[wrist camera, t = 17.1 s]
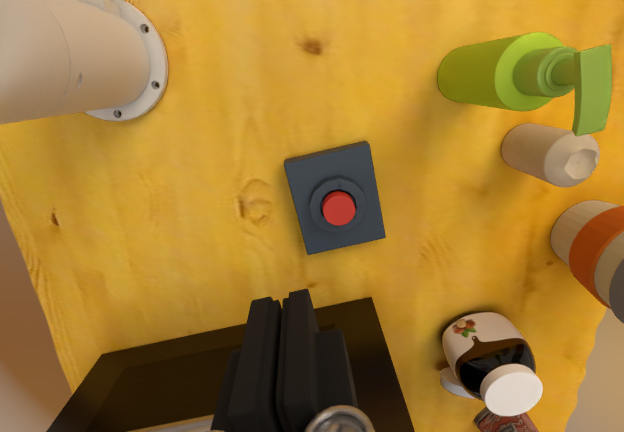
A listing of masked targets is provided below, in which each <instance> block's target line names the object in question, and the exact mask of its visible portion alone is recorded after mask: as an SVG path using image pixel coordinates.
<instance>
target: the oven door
mask: <svg viewBox="0 0 624 432" xmlns="http://www.w3.org/2000/svg"><path fill="white" fill-rule="evenodd" d="M314 313H315V316H316V320H317V324H318V327H319V331H320V332H324V331H328V330H333V329H338V328H341V329H342V332H343V336H344V340H345V344H346V348H347V353H348V357H349V362H350V366H351V371H352V376H353V382H354V388H355V393H356V399H357V405H358V409H360V410H361V411H362V412H363V413H364V414H366V415H367V417H368V418H369V420H370V422H371V423H372V425H373V428H374V430H375V432H415V431H414V428H413V425H412V422H411V419H410V416H409V413H408V409H407V406H406V403H405V400H404V397H403V394H402V391H401V388H400V384H399V381H398V378H397V375H396V372H395V369H394V366H393V363H392V360H391V356H390V353H389V350H388V347H387V344H386V341H385V338H384V335H383V332H382V328H381V325H380V322H379V319H378V316H377V313H376V310H375V307H374V303H373V300H372V297H369V298H365V299H360V300H355V301H351V302H346V303H341V304H336V305H332V306H327V307H322V308H318V309H314ZM246 325H247V324H242V325H238V326H233V327H228V328H224V329H219V330H214V331H210V332H205V333H200V334H195V335H191V336H186V337H181V338H177V339H172V340H167V341H163V342H158V343H153V344H148V345H144V346H139V347H134V348H130V349H125V350H120V351H116V352H111V353H106V354H102V355H101V356H100V358H99V359H98V361H97V362H96V363H95V365H94V366H93V367H92V369H91V370H90V372H89V373H88V374H87V376H86V377H85V379H84V380H83V381H82V383H81V384H80V386H79V387H78V388H77V390H76V391H75V393H74V394H73V395H72V397H71V398H70V400H69V401H68V402H67V404H66V405H65V406H64V408H63V409H62V411H61V412H60V413H59V415H58V416H57V418H56V419H55V420H54V422H53V423H52V425H51V426H50V427H49V429H48V430H47V431H46V432H206V431H210V428H211V424H212V421H213V417H214V413H215V409H216V405H217V401H218V397H219V393H220V389H221V385H222V381H223V377H224V374H225V370H226V366H227V362H228V358H229V355H230V352H231V351H233V350H237V349H241V348H242V343H243V339H244V334H245V329H246Z"/></svg>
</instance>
